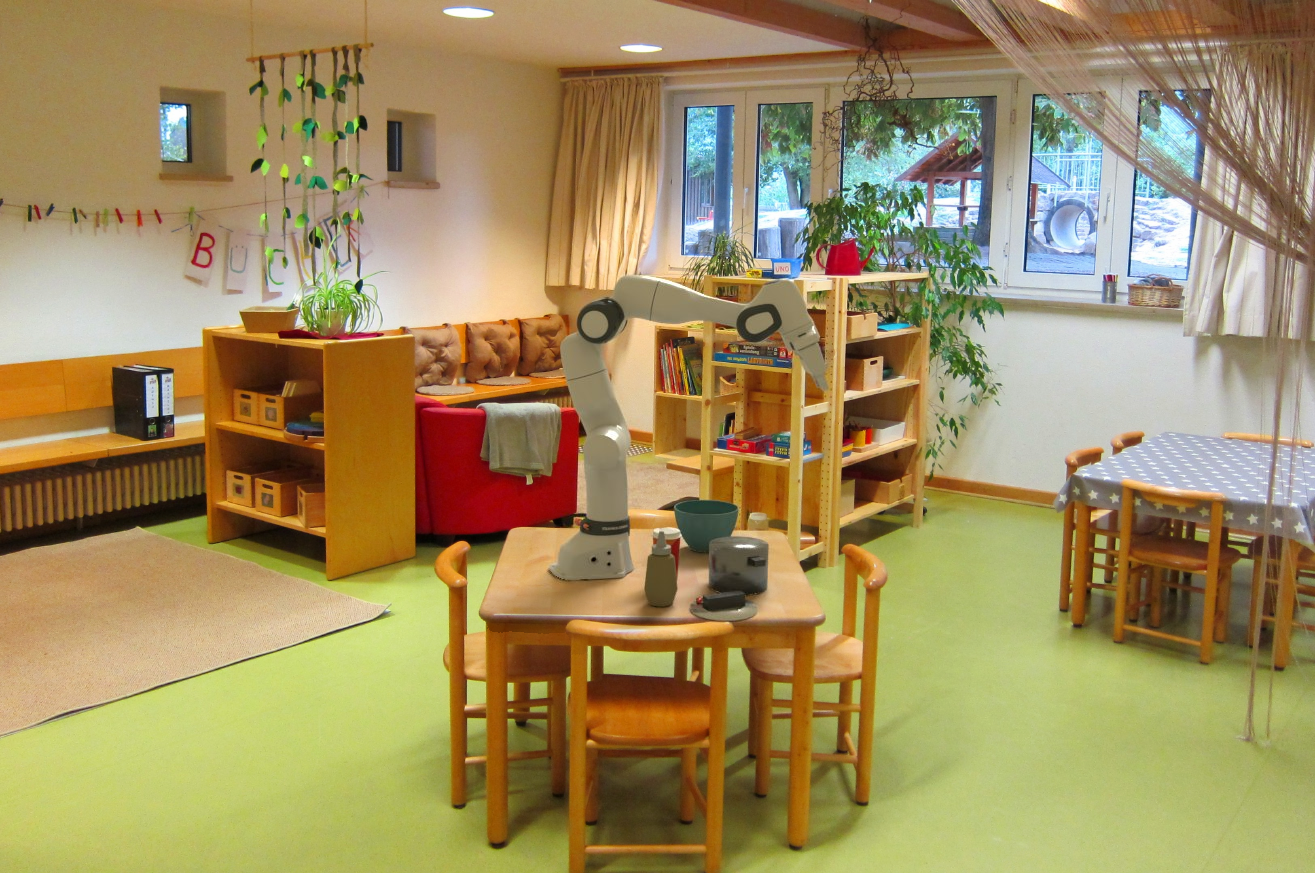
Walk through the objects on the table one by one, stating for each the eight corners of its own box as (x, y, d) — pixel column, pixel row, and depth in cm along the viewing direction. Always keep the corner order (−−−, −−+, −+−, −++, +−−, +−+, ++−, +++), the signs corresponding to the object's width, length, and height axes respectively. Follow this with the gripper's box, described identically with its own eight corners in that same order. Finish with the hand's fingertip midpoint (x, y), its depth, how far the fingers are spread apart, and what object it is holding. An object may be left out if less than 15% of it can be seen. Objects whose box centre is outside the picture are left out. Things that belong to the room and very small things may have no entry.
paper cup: (646, 580, 299) (646, 528, 297) (673, 577, 302) (674, 525, 300) (658, 589, 292) (659, 535, 290) (686, 586, 295) (687, 532, 293)
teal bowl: (660, 547, 330) (660, 505, 328) (705, 536, 342) (706, 496, 340) (705, 561, 317) (705, 518, 315) (750, 549, 329) (751, 507, 327)
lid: (709, 626, 267) (709, 608, 266) (679, 605, 281) (679, 589, 281) (769, 617, 274) (770, 600, 273) (737, 597, 288) (737, 581, 287)
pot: (732, 602, 283) (733, 558, 281) (692, 577, 302) (693, 536, 300) (785, 594, 289) (786, 552, 287) (743, 570, 309) (744, 530, 307)
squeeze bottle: (652, 610, 276) (652, 537, 273) (638, 600, 283) (639, 529, 280) (682, 606, 279) (683, 534, 276) (669, 596, 287) (670, 526, 283)
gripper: (786, 342, 301) (807, 390, 302) (793, 345, 280) (816, 397, 282) (808, 332, 300) (829, 380, 302) (817, 334, 280) (840, 386, 281)
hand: (823, 388), depth 291 cm, fingers open, 8 cm apart
